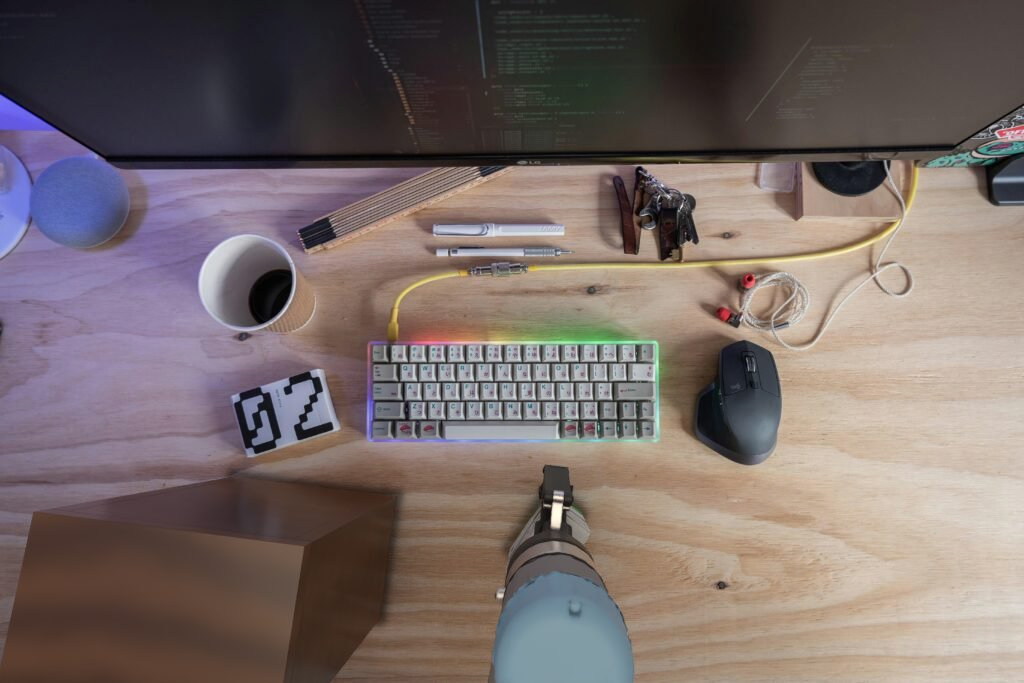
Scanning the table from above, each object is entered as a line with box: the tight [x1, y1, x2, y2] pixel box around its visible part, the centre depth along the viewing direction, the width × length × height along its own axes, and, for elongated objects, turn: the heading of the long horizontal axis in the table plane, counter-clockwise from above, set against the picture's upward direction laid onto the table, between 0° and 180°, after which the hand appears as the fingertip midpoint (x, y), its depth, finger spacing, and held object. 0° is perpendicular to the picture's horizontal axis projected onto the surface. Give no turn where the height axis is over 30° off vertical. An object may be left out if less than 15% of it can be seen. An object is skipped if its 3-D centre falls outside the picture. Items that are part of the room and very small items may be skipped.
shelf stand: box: [50, 475, 397, 683], centre depth 57 cm, size 14×20×28 cm
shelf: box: [0, 508, 312, 683], centre depth 43 cm, size 14×20×2 cm
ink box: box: [504, 503, 592, 575], centre depth 65 cm, size 9×5×12 cm, turn 144°
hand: (545, 536), depth 68 cm, fingers closed on ink box, 9 cm apart
